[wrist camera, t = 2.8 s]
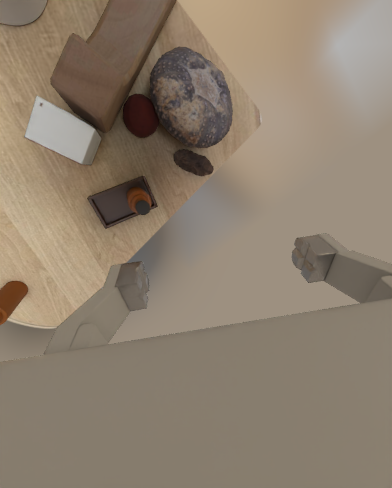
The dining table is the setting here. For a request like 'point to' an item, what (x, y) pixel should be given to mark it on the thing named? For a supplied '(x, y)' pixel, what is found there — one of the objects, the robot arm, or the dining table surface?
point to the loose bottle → (11, 298)
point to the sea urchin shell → (191, 98)
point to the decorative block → (109, 59)
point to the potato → (140, 115)
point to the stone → (193, 162)
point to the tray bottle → (139, 200)
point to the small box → (62, 132)
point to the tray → (118, 202)
